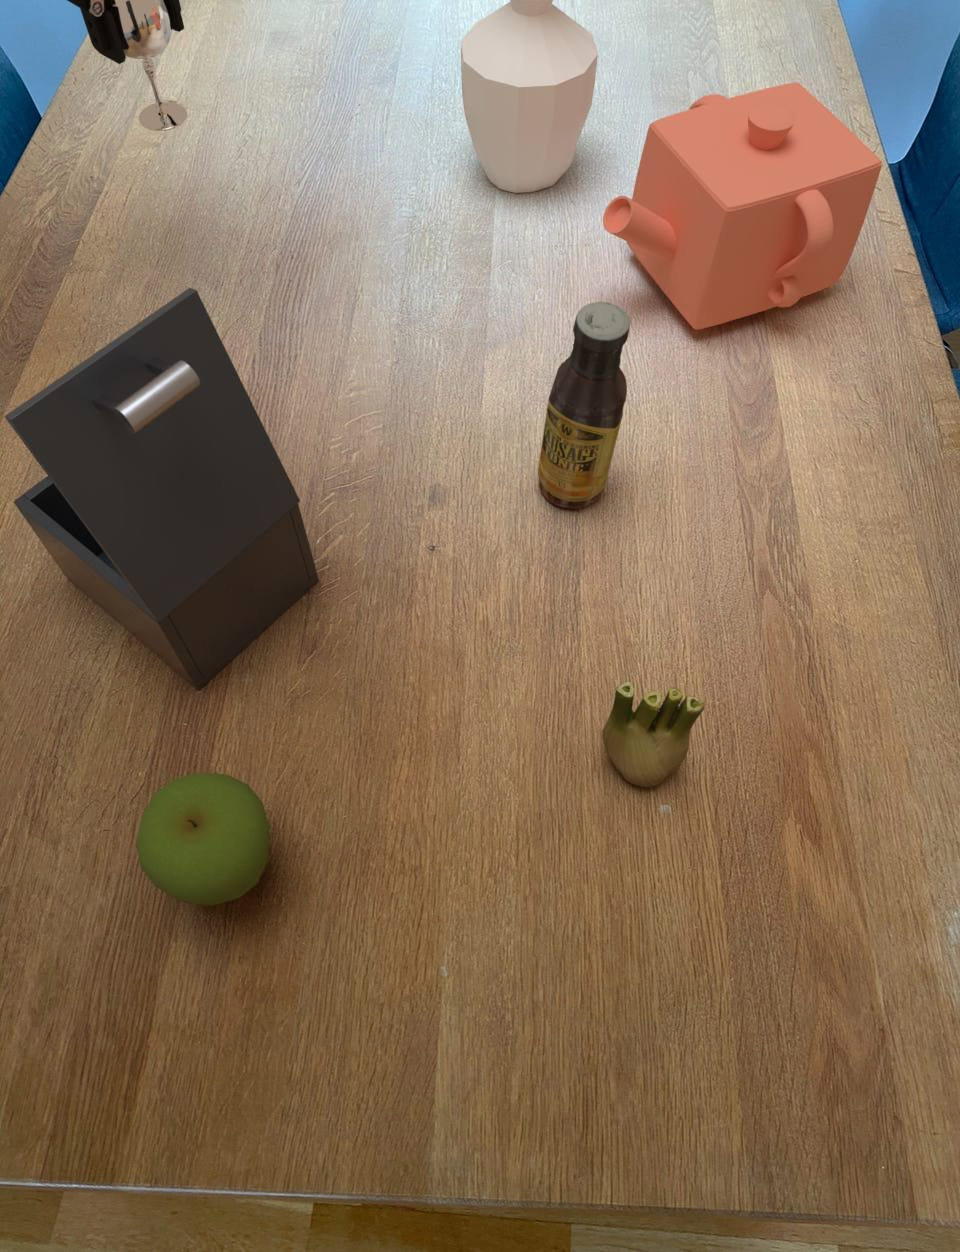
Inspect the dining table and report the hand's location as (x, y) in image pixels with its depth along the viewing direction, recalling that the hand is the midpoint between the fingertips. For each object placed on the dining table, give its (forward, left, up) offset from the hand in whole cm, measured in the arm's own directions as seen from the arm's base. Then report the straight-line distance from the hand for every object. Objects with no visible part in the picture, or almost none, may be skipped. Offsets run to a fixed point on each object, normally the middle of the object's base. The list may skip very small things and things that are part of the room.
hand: (141, 39), depth 82 cm
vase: (+17, +34, -23) cm, 44 cm away
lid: (+35, -28, -3) cm, 45 cm away
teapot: (+43, +31, -23) cm, 57 cm away
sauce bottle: (+49, +1, -23) cm, 54 cm away
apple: (+51, -43, -23) cm, 71 cm away
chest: (+30, -28, -23) cm, 47 cm away
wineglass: (0, 0, -7) cm, 7 cm away
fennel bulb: (+69, -17, -23) cm, 75 cm away
